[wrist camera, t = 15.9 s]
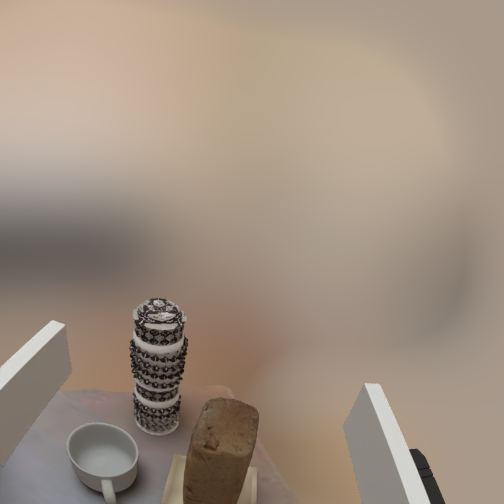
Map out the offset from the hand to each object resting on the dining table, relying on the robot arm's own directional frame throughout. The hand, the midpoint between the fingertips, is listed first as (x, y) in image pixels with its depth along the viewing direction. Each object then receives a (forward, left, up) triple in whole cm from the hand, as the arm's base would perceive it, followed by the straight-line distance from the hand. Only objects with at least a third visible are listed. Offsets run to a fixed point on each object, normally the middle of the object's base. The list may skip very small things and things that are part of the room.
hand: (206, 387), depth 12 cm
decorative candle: (-10, +30, -38) cm, 49 cm away
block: (+2, +15, -37) cm, 40 cm away
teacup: (-14, +13, -38) cm, 43 cm away
